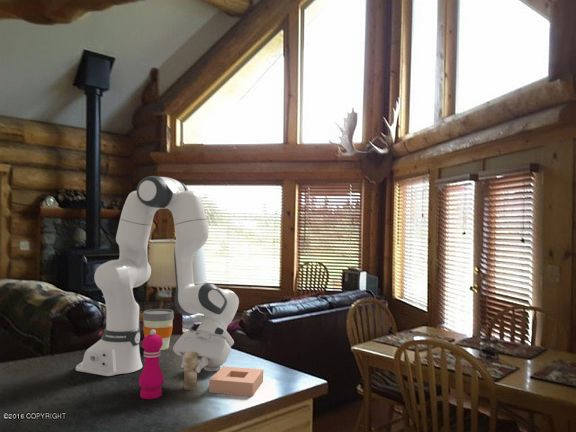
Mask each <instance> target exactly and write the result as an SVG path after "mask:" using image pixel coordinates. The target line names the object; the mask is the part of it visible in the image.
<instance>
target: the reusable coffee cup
mask: <svg viewBox="0 0 576 432" xmlns="http://www.w3.org/2000/svg"><path fill="white" fill-rule="evenodd" d="M174 314H175V313H174V310H173V309H169V308H168V309H166V308H155V309H154V308H153V309H147V310H144V311H143V314H142V320H143V325H142V327H143V336H144V337H143V338H145V337H146V336H147V335H150V331H151V330H152V329H154V330H155V331H156V335H159V336H160V337H161V338H162V341H163V345H162V347H161V348H160V350H161V351H165V350H168V349H169V348H170V341H171V337H172V333H173V328H174V326H173V325H174V324H173V320H174V319H175V316H174Z"/></svg>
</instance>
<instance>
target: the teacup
mask: <svg viewBox="0 0 576 432" xmlns="http://www.w3.org/2000/svg"><path fill="white" fill-rule="evenodd" d="M200 362H202V361H201V360H199V363H200ZM222 365H223V364H216V363H212V362H208V364H207V365H206V366H205V367H203V370H204V371H206V372H218V371H219V370H220V369H221V366H222Z"/></svg>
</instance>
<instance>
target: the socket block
mask: <svg viewBox="0 0 576 432" xmlns="http://www.w3.org/2000/svg"><path fill="white" fill-rule="evenodd" d="M208 380H209V382H208V383H209V385H208V386H209V387H208V393H212V394H213V393H215V394H223V395H224V394H225V395H226V394H227V395H237V396H247V397H248V396H249V397H254V395H255V394H256V392H257V391H258V390H259V388H260V386H261V385H262V384H263V382H264V369H262V368H261V369H260V368H248V367H237V366H226V365H225V366H222V367H220V370H218V371H216V373H214V374H213V375H212V376H211V377H210V378H209V379H208Z"/></svg>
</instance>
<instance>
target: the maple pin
mask: <svg viewBox="0 0 576 432" xmlns="http://www.w3.org/2000/svg"><path fill="white" fill-rule="evenodd" d="M197 358H198V353H197V352H187V353H185V366H184V369H183V373H184V375H183V377H184V378H183V390H186V391H195V390H197V388H198V387H197V386H198V377H197V376H198V373H197V372H195V371H194V370H193V369H194V367H195V365H198V359H197Z"/></svg>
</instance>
